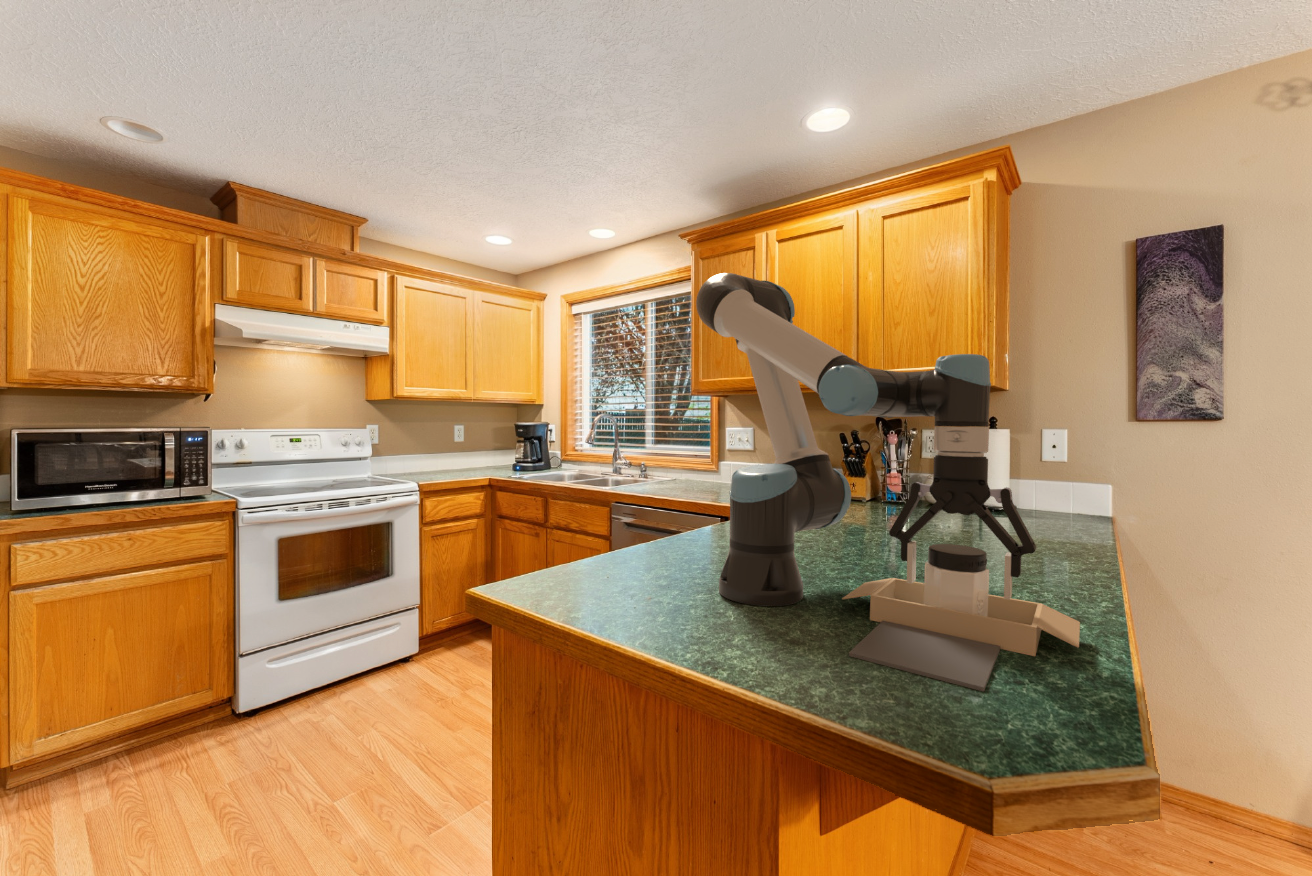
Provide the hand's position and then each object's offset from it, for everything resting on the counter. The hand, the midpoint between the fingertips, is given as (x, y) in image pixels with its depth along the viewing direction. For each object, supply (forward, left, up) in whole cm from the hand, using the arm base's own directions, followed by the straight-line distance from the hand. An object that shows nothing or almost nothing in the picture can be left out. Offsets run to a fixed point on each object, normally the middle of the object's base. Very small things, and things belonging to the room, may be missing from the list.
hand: (957, 589), depth 90 cm
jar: (0, 0, -6) cm, 6 cm away
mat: (-1, -15, -6) cm, 16 cm away
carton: (0, 0, -6) cm, 6 cm away
